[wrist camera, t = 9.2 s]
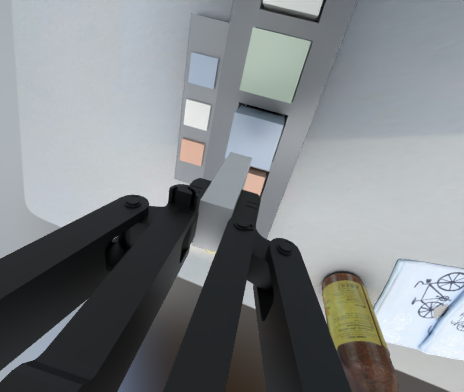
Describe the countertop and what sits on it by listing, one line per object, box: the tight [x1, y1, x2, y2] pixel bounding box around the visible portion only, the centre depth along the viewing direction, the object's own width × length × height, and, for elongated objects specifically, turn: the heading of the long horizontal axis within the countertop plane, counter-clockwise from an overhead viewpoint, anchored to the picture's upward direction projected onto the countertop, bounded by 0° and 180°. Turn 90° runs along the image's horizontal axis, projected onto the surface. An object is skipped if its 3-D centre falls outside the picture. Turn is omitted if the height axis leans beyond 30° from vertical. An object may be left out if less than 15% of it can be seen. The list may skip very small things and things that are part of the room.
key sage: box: [240, 27, 311, 104], centre depth 21 cm, size 5×5×4 cm
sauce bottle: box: [322, 273, 399, 392], centre depth 29 cm, size 7×6×20 cm
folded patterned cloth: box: [374, 259, 464, 361], centre depth 36 cm, size 19×20×2 cm
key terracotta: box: [243, 167, 267, 196], centre depth 30 cm, size 5×5×4 cm
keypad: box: [174, 0, 358, 243], centre depth 27 cm, size 14×36×3 cm, turn 168°
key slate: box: [225, 105, 284, 171], centre depth 25 cm, size 5×5×4 cm
